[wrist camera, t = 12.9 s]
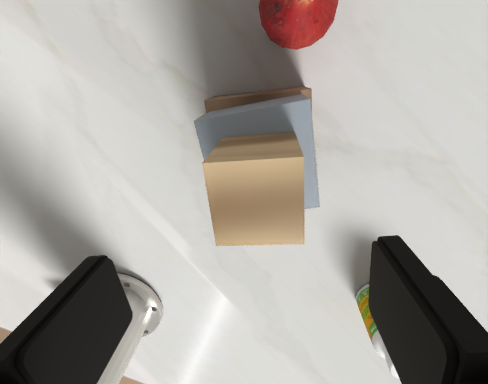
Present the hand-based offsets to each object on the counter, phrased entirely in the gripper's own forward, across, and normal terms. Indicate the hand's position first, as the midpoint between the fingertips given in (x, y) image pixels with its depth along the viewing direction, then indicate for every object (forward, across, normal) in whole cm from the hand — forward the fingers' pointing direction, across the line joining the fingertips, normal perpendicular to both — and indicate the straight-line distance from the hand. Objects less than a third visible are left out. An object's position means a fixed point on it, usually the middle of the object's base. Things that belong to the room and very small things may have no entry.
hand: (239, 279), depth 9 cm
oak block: (+11, -1, 0) cm, 11 cm away
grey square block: (+16, -1, -1) cm, 16 cm away
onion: (+21, -5, -11) cm, 24 cm away
